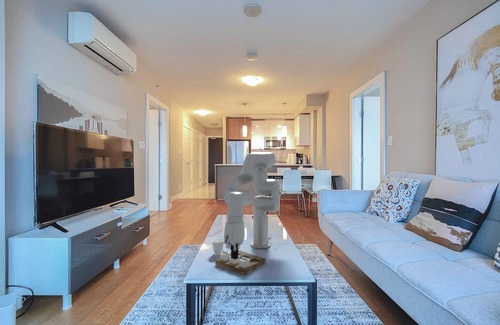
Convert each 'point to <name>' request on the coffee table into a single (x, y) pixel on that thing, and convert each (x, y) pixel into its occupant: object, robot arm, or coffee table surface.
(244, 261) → the tab
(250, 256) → the switch board
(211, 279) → the coffee table surface
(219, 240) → the cup
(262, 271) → the coffee table surface
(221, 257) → the tab
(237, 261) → the tab middle
